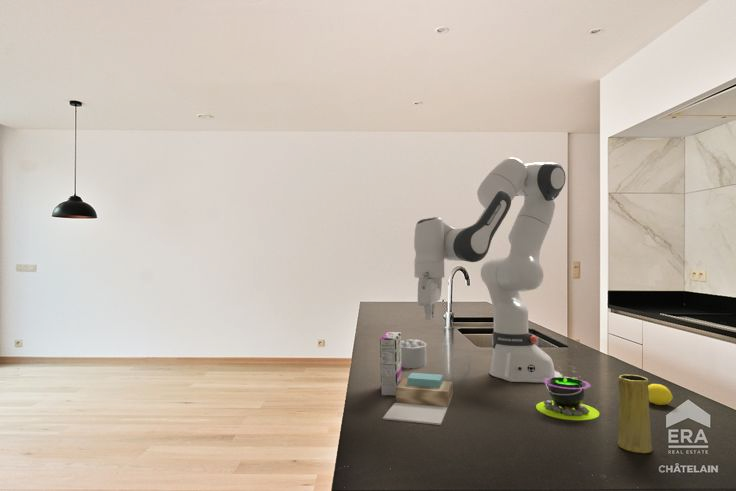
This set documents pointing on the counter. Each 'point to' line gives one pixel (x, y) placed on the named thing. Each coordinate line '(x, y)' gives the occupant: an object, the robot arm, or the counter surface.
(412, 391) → the wooden block
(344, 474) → the counter surface
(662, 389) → the lemon
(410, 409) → the mat
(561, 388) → the toy cauldron
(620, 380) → the vase
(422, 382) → the teal rectangular block
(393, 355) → the candy bar box
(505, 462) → the counter surface
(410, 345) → the lumpy-topped squat cylinder
